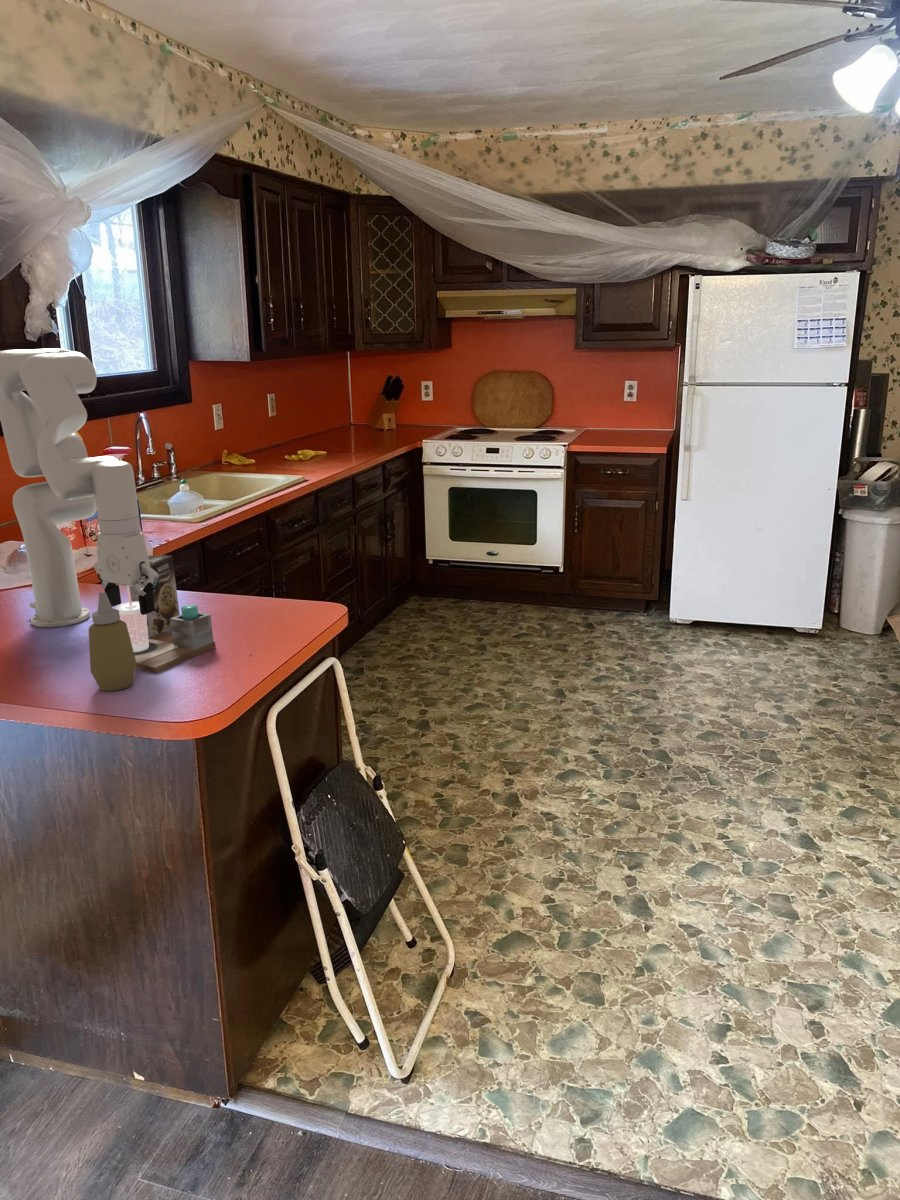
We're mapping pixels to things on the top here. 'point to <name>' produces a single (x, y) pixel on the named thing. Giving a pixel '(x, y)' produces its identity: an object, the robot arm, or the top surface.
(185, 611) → the button
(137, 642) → the beverage cup
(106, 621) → the squeeze bottle
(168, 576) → the coffee box
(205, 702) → the top surface
